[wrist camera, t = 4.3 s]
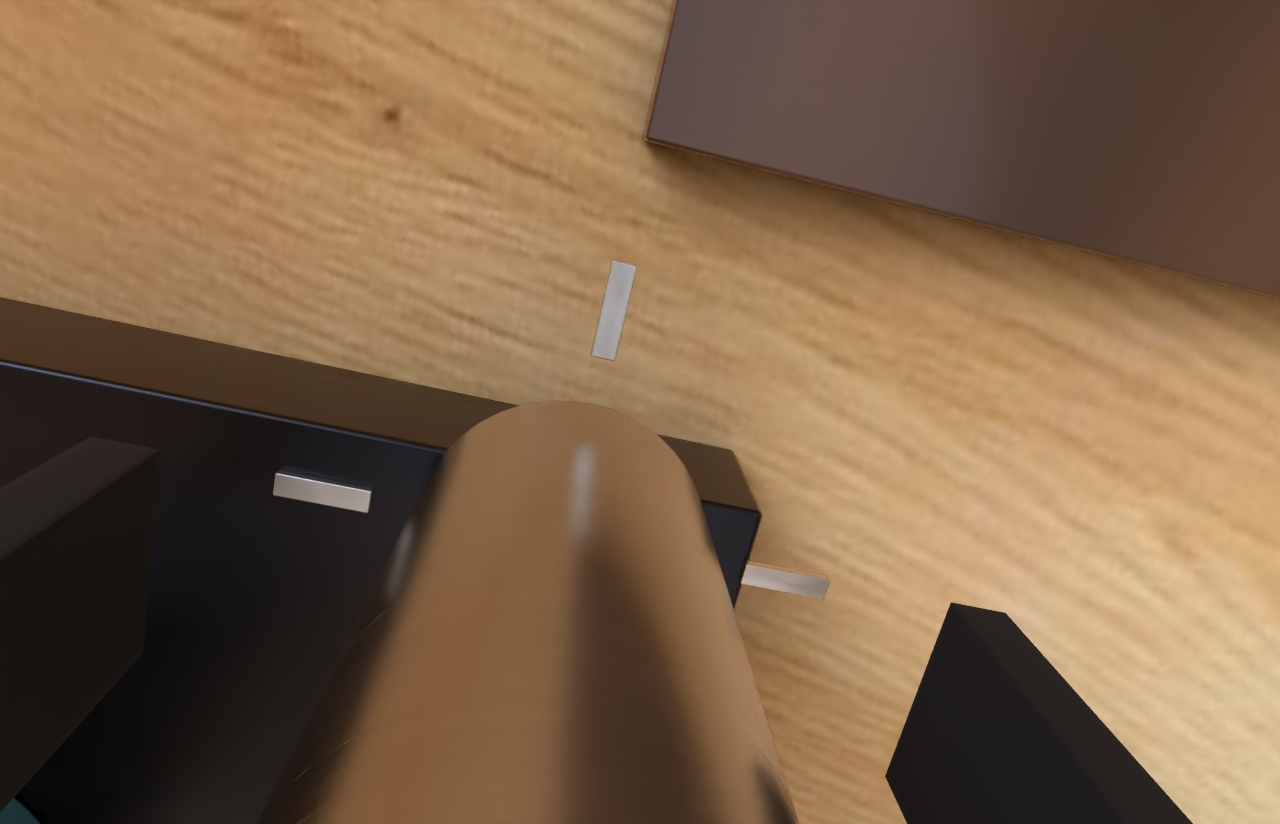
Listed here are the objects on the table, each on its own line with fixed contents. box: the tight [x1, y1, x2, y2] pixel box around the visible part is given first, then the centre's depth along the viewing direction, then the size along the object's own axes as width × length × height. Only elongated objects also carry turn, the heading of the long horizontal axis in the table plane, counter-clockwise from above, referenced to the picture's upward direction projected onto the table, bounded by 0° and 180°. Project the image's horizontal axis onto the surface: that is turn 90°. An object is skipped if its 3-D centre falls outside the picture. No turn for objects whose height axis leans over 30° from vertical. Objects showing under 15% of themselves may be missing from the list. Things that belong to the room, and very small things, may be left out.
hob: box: [0, 259, 830, 824], centre depth 15 cm, size 19×17×3 cm
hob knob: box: [255, 401, 799, 824], centre depth 9 cm, size 4×4×9 cm
